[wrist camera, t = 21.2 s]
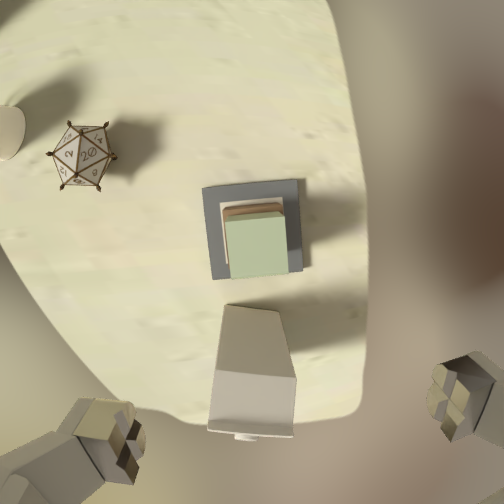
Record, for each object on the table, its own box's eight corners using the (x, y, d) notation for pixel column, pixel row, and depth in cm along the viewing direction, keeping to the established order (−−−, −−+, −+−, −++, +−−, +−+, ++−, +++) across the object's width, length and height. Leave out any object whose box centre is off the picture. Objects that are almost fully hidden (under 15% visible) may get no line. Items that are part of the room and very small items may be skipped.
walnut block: (225, 206, 35) (222, 210, 30) (277, 202, 35) (282, 205, 31) (230, 257, 37) (228, 269, 32) (281, 252, 37) (287, 263, 32)
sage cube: (227, 215, 31) (224, 222, 26) (278, 211, 31) (284, 216, 26) (233, 264, 32) (231, 279, 27) (281, 259, 32) (288, 273, 27)
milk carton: (224, 303, 39) (210, 398, 21) (278, 310, 40) (304, 406, 21) (218, 350, 41) (204, 455, 22) (269, 356, 41) (284, 461, 23)
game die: (112, 145, 38) (115, 94, 29) (124, 196, 37) (127, 151, 28) (52, 159, 34) (41, 110, 25) (58, 214, 33) (43, 171, 24)
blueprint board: (203, 188, 36) (201, 188, 35) (295, 179, 36) (297, 179, 35) (213, 277, 38) (212, 280, 37) (301, 268, 39) (303, 271, 37)
